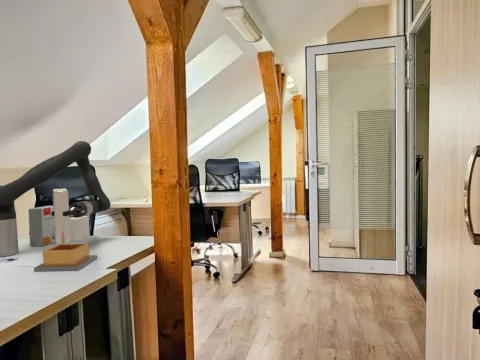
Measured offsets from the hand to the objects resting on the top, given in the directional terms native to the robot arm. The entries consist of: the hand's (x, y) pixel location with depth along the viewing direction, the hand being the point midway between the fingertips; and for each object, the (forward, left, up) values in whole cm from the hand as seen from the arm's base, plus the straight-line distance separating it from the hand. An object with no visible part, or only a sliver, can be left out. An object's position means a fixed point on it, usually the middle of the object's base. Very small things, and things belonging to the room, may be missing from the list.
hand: (58, 214), depth 169 cm
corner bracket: (-11, +43, -20) cm, 48 cm away
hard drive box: (-23, +30, -20) cm, 43 cm away
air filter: (0, +2, -14) cm, 14 cm away
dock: (+11, -14, -20) cm, 27 cm away
